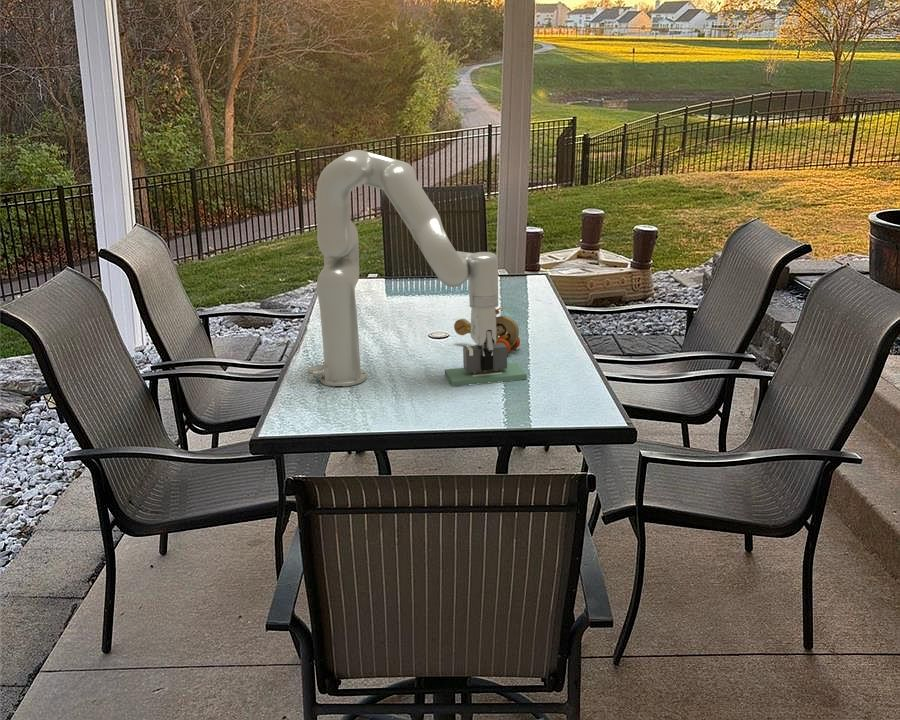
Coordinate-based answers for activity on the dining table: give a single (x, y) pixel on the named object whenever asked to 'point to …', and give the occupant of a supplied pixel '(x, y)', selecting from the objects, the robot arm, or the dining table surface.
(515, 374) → the header board
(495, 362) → the block
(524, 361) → the dining table surface
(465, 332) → the toy helicopter
